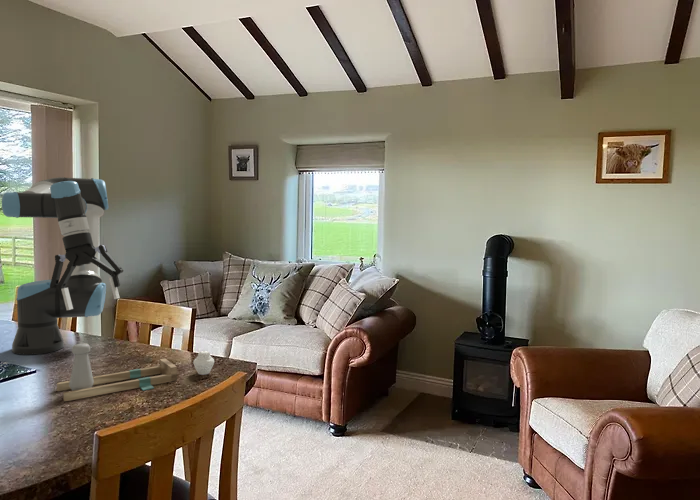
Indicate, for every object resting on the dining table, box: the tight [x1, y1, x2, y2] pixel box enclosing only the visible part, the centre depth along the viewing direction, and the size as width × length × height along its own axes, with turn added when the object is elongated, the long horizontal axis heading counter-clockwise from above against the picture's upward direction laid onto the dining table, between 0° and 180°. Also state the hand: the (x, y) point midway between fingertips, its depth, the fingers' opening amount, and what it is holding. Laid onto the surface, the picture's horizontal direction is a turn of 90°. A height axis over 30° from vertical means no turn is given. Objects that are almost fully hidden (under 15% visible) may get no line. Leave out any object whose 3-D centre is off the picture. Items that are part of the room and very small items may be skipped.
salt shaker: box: [69, 342, 94, 391], centre depth 138 cm, size 6×6×13 cm
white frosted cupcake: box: [192, 350, 215, 376], centre depth 157 cm, size 6×6×7 cm
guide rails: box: [56, 358, 178, 402], centre depth 145 cm, size 16×29×4 cm, turn 129°
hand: (93, 304), depth 153 cm, fingers open, 13 cm apart
